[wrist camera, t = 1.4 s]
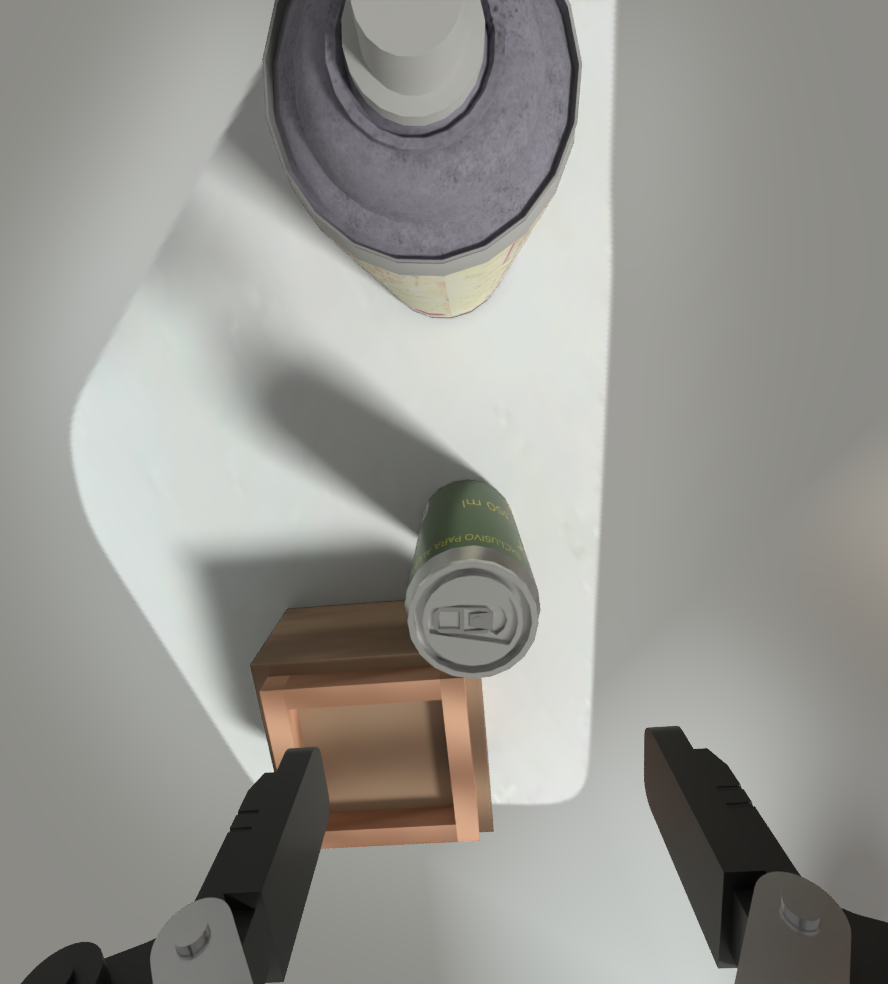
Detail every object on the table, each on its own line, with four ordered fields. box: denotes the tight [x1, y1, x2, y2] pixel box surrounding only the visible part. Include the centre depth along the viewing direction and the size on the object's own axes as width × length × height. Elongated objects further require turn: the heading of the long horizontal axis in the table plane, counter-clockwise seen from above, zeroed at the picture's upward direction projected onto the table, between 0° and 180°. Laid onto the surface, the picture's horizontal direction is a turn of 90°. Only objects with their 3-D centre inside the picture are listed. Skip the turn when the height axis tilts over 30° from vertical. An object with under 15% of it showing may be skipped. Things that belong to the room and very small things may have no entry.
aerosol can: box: [263, 0, 582, 318], centre depth 17 cm, size 7×7×20 cm
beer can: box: [404, 480, 540, 679], centre depth 25 cm, size 5×5×12 cm
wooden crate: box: [250, 600, 494, 849], centre depth 30 cm, size 12×12×7 cm
